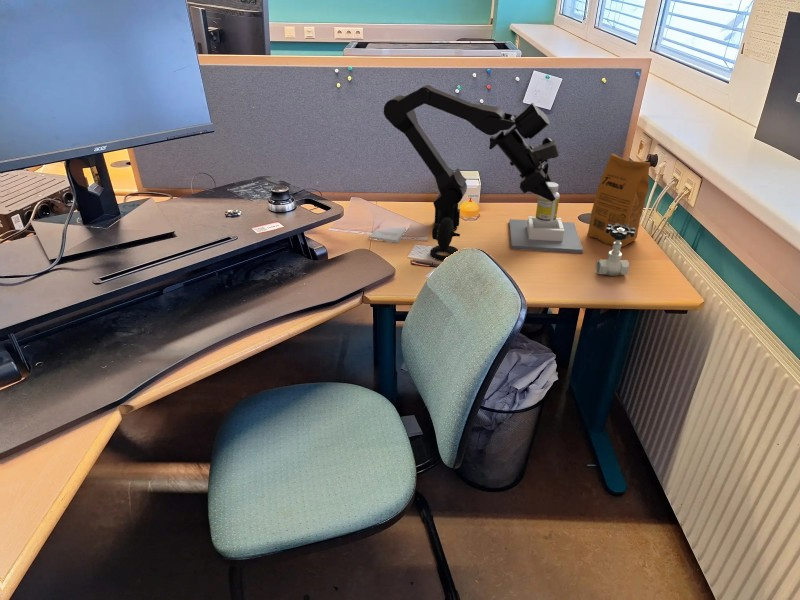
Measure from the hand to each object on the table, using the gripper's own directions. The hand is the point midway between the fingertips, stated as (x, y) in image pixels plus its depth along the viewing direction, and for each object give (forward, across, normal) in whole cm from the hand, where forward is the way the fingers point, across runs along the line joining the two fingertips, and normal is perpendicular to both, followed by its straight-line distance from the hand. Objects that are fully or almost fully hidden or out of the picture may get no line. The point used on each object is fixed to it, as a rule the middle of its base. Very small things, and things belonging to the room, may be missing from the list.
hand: (554, 196), depth 143 cm
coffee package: (+20, +4, -3) cm, 21 cm away
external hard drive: (-20, -9, +39) cm, 45 cm away
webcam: (-9, -18, +26) cm, 33 cm away
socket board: (+8, 0, +9) cm, 12 cm away
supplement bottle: (+4, 0, +6) cm, 7 cm away
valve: (+19, -18, -3) cm, 26 cm away
